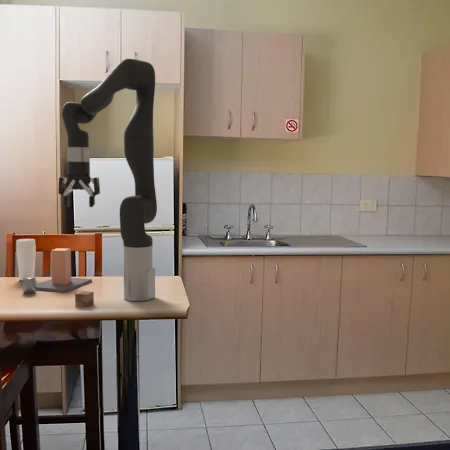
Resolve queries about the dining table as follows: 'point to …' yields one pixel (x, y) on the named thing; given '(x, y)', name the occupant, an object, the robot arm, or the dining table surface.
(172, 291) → the dining table surface
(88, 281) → the charcoal mat
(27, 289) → the grey tin
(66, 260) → the terracotta block
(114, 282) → the dining table surface
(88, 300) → the walnut cube
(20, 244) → the drinking glass
